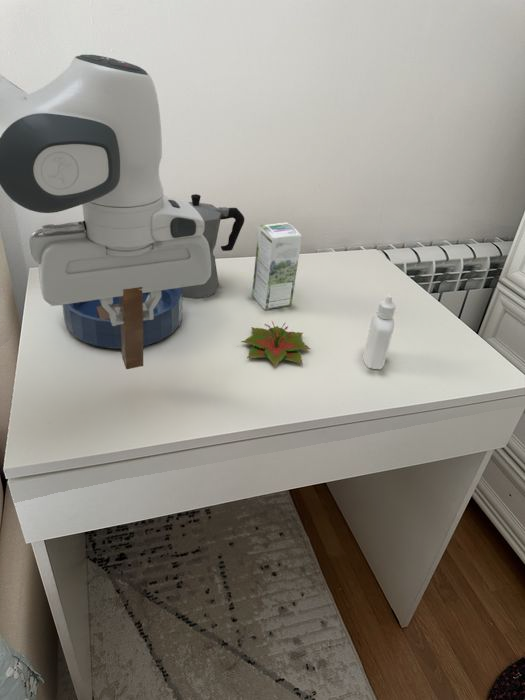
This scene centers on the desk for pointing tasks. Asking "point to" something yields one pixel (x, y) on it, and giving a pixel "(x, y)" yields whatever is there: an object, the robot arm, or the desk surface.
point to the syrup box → (276, 265)
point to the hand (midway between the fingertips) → (132, 320)
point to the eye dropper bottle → (379, 335)
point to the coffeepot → (213, 241)
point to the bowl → (103, 334)
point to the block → (104, 312)
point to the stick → (132, 327)
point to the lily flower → (276, 344)
